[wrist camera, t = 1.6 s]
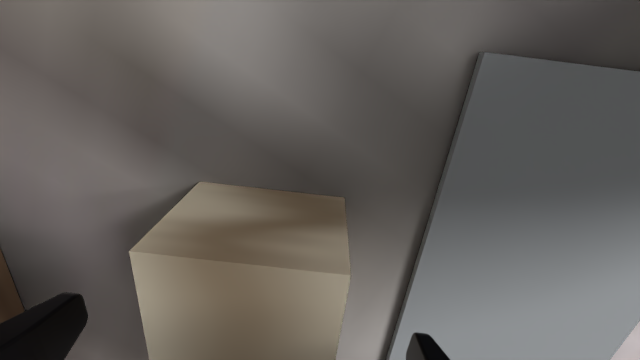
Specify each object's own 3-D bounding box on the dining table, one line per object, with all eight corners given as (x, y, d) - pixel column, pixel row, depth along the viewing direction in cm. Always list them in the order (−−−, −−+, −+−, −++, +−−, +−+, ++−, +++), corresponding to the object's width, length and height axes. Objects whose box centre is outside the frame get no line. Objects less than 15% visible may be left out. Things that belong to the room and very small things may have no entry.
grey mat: (796, 92, 8) (812, 93, 8) (561, 411, 14) (565, 418, 14) (479, 51, 8) (484, 52, 8) (376, 390, 14) (377, 397, 14)
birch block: (344, 195, 10) (351, 275, 7) (327, 302, 12) (326, 409, 9) (201, 179, 10) (128, 251, 7) (207, 289, 12) (154, 391, 9)
